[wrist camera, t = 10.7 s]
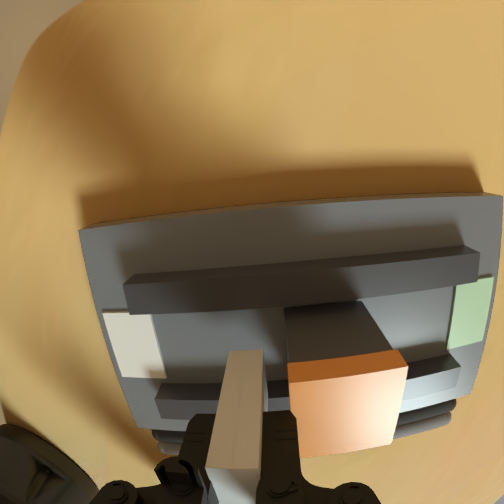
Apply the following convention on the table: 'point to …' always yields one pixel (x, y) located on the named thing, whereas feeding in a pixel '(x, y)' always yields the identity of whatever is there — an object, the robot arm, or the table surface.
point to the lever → (341, 379)
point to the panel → (286, 242)
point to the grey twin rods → (405, 426)
